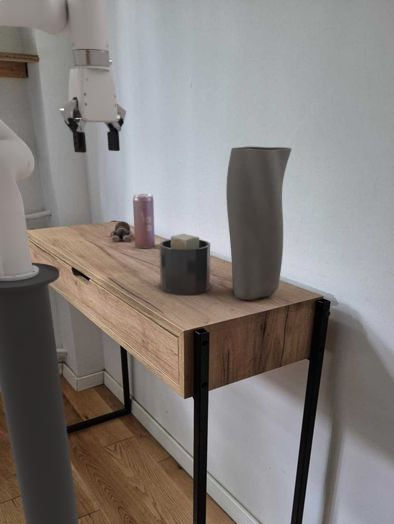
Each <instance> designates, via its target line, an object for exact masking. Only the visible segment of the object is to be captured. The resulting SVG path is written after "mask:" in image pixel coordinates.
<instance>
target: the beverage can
mask: <svg viewBox="0 0 394 524" xmlns="http://www.w3.org/2000/svg"><path fill="white" fill-rule="evenodd" d="M132 197H133V198H132V209H133V232H134V233H135V236H134V245H135V247H136V248H138V249H151V248H154V247H155V244H156V242H155V240H156V239H155V237H156V236H155V207H154V206H155V205H154V197H153V194H149V193H137V194H133V196H132Z"/></svg>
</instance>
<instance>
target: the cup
mask: <svg viewBox="0 0 394 524" xmlns="http://www.w3.org/2000/svg"><path fill="white" fill-rule="evenodd" d="M158 248H159V282H160V283H159V284H160V289H161V290H162V291H163V292H165V293H167V294H171V295H178V296H193V295H199V294H203V293H205V292H208V291H209V289H210V283H211V282H210V278H211V277H210V275H211V274H210V273H211V272H210V271H211V243H210V242H209V241H207V240H204V239H199V248H197V249H173V248H171V238H170V239H166V240H163V241H160V242H159V247H158Z"/></svg>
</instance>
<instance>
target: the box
mask: <svg viewBox="0 0 394 524" xmlns="http://www.w3.org/2000/svg"><path fill="white" fill-rule="evenodd" d="M170 239H171V248H173V249H197V248H199V240H200V237H199V236H196V235H192V234H186V233H179V234H176V235H171V236H170Z"/></svg>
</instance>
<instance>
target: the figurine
mask: <svg viewBox="0 0 394 524" xmlns="http://www.w3.org/2000/svg"><path fill="white" fill-rule="evenodd" d="M108 238H111V240H112V242H114V243H118V242H120V240H121V241H122V240H123V241H124V242H126V243H128V242H130V241H131V238H135V233H134V231H131V225H130V224H129V223H128V222H126V221H118V222H117V223H116V224H115V227H114V230H113V231H110V232H108Z"/></svg>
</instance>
